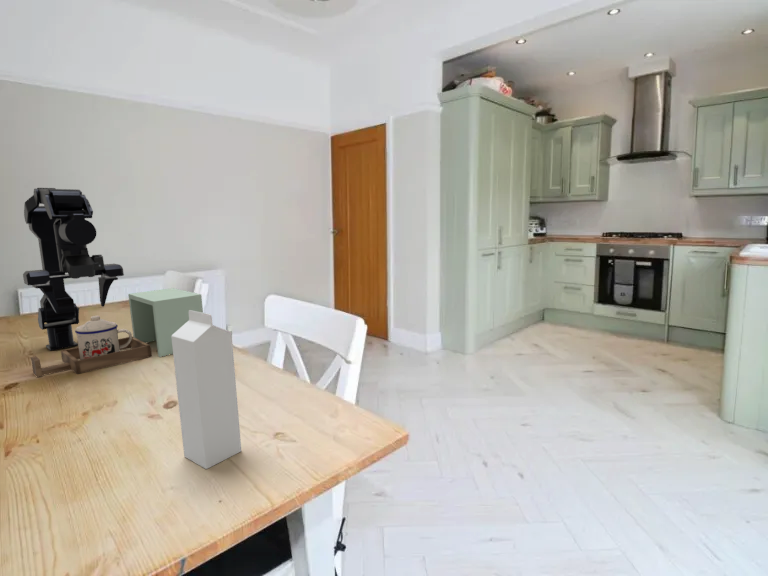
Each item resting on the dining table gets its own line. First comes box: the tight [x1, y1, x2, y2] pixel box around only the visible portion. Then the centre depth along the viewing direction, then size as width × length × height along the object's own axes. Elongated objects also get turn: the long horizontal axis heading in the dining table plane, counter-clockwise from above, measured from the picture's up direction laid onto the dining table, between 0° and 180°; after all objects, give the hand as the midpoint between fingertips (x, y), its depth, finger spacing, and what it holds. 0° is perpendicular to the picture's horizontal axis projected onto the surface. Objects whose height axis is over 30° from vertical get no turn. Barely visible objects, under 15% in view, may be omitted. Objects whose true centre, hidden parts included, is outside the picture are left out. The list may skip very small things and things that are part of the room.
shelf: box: [127, 287, 204, 358], centre depth 123 cm, size 19×12×15 cm, turn 47°
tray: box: [30, 336, 153, 378], centre depth 110 cm, size 14×23×4 cm, turn 137°
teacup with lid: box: [74, 315, 133, 360], centre depth 112 cm, size 12×9×12 cm
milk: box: [171, 310, 242, 470], centre depth 64 cm, size 6×6×22 cm
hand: (80, 309), depth 104 cm, fingers open, 9 cm apart
